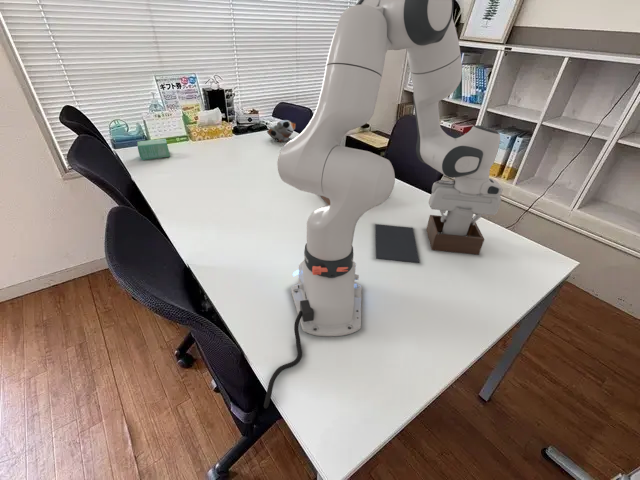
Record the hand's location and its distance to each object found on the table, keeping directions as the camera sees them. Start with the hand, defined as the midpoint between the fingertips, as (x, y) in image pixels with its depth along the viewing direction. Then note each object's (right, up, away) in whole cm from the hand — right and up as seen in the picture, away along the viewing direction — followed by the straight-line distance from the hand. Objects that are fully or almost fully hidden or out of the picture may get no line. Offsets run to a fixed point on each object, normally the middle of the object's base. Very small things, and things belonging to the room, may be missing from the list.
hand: (457, 222), depth 105 cm
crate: (0, -6, +5) cm, 8 cm away
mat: (-19, -6, +3) cm, 20 cm away
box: (-127, +37, +60) cm, 145 cm away
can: (0, -5, +3) cm, 6 cm away
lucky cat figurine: (-67, +55, +91) cm, 126 cm away
